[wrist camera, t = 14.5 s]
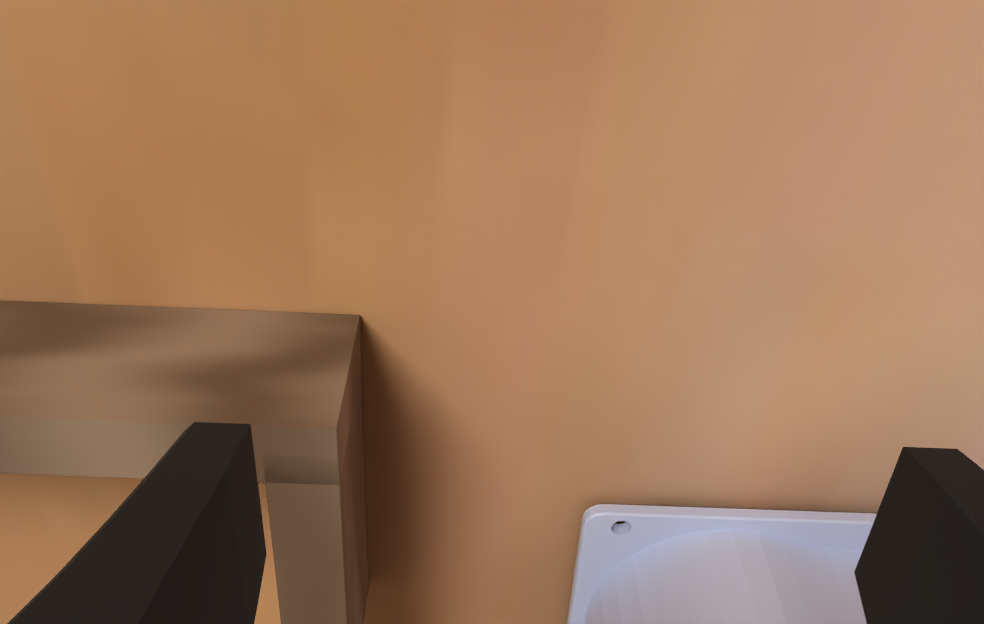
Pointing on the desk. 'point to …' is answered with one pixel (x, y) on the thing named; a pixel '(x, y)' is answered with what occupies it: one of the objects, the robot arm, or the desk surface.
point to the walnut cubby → (204, 419)
